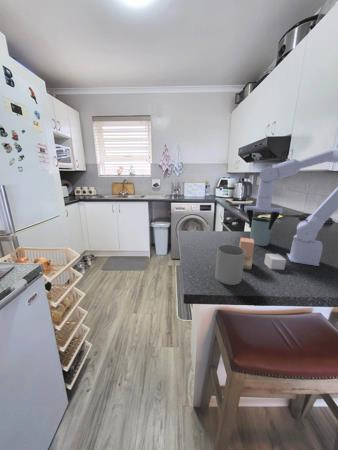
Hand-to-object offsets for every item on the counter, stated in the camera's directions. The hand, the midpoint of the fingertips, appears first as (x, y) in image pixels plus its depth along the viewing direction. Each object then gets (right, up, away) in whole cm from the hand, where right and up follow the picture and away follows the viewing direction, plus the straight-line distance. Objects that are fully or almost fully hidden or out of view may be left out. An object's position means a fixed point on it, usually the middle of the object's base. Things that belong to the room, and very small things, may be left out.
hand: (259, 228), depth 83 cm
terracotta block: (-11, -10, -12) cm, 19 cm away
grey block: (0, -14, -11) cm, 18 cm away
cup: (-20, -16, -20) cm, 33 cm away
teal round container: (+5, -8, +12) cm, 15 cm away
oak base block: (-12, -14, -11) cm, 21 cm away
